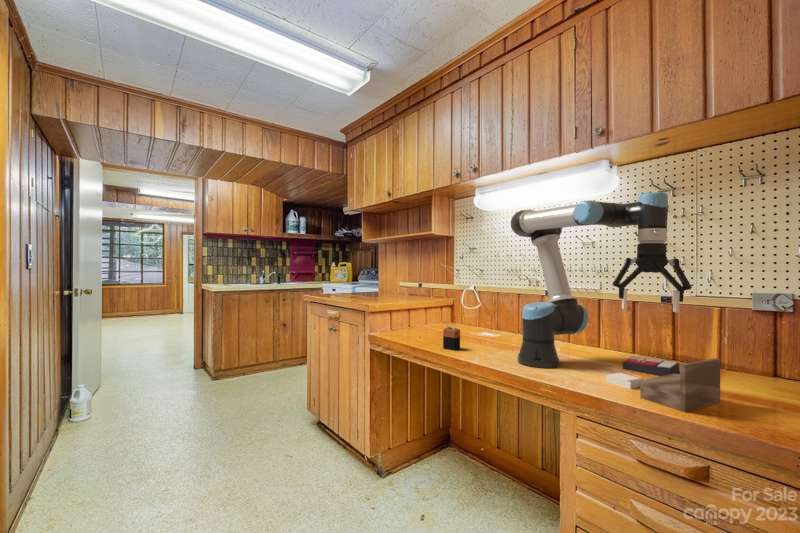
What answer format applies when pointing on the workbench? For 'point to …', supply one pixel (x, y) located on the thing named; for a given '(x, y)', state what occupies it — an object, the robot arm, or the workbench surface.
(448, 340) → the battery
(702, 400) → the brown wooden l-shaped block
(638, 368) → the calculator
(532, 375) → the workbench surface
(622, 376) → the tile
